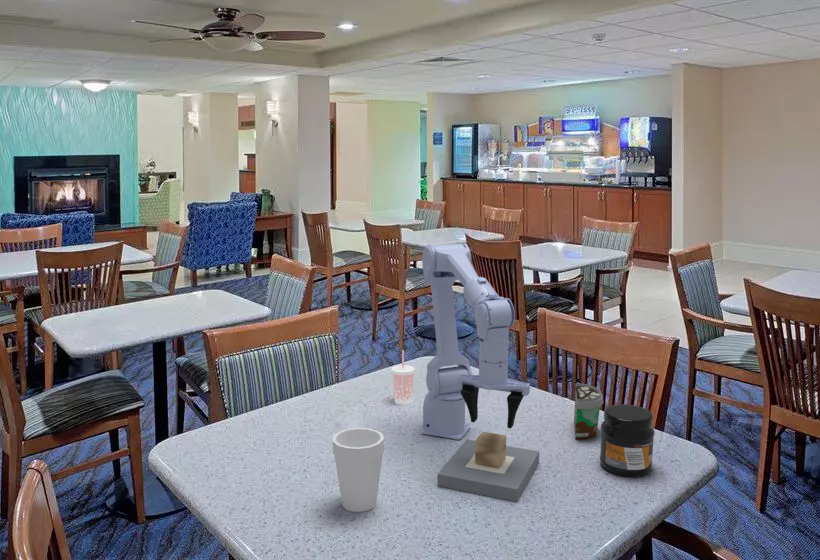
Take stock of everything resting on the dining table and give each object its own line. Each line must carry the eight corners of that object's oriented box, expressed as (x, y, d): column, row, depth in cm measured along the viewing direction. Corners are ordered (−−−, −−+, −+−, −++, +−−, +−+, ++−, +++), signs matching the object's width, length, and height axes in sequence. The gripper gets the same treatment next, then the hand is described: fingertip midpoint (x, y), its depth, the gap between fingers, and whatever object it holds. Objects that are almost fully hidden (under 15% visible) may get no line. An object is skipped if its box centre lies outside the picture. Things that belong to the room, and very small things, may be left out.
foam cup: (335, 492, 133) (333, 428, 131) (383, 490, 134) (382, 426, 132) (333, 517, 124) (332, 449, 122) (385, 515, 125) (384, 447, 122)
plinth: (437, 485, 136) (437, 473, 135) (466, 449, 152) (467, 438, 151) (517, 501, 129) (517, 488, 129) (538, 462, 146) (539, 450, 145)
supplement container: (638, 483, 136) (642, 426, 134) (589, 467, 143) (592, 412, 141) (660, 466, 144) (664, 411, 142) (613, 451, 151) (616, 399, 149)
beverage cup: (415, 397, 184) (415, 347, 182) (413, 406, 178) (413, 353, 176) (393, 397, 185) (392, 346, 182) (390, 405, 179) (389, 353, 176)
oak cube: (474, 464, 139) (475, 440, 138) (482, 454, 144) (482, 431, 143) (498, 468, 137) (499, 444, 136) (505, 458, 142) (506, 435, 141)
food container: (603, 444, 154) (605, 402, 153) (575, 442, 156) (577, 400, 154) (600, 423, 166) (601, 383, 164) (573, 421, 167) (575, 382, 166)
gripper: (452, 360, 137) (451, 425, 139) (524, 369, 131) (522, 436, 133) (464, 350, 143) (463, 412, 145) (533, 359, 137) (531, 423, 140)
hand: (492, 423), depth 140 cm, fingers open, 7 cm apart
